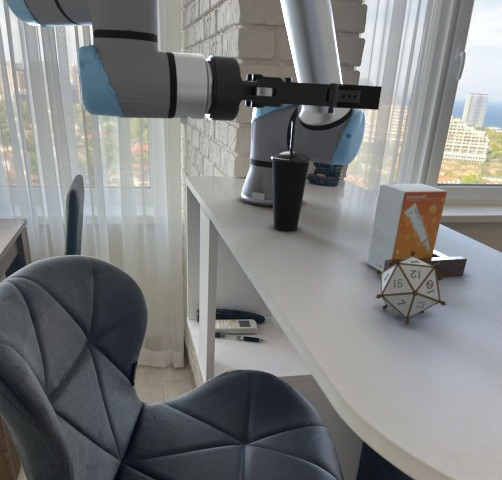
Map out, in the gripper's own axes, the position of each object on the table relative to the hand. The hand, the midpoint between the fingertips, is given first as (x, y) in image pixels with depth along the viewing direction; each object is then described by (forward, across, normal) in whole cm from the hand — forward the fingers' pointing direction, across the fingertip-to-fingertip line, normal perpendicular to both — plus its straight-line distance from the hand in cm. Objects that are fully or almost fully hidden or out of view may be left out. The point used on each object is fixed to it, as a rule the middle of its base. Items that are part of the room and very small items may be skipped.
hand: (354, 96), depth 71 cm
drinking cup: (+1, -24, -25) cm, 35 cm away
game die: (+1, +20, -25) cm, 32 cm away
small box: (+11, +2, -25) cm, 27 cm away
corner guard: (+13, -1, -25) cm, 28 cm away
